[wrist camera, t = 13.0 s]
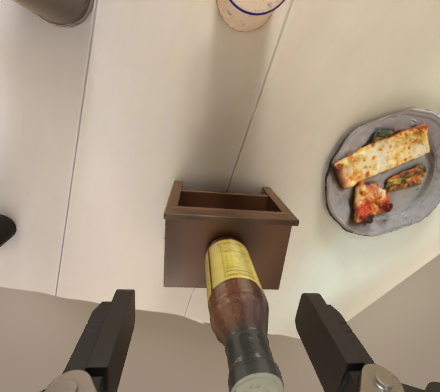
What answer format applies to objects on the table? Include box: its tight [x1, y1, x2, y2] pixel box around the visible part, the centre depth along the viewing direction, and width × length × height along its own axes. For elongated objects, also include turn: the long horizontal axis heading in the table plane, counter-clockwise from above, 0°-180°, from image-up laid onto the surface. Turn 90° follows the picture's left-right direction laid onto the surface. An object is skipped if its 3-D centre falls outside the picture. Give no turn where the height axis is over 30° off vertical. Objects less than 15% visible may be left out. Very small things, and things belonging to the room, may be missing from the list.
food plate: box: [325, 108, 440, 236], centre depth 47 cm, size 25×23×4 cm
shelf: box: [164, 181, 299, 290], centre depth 42 cm, size 18×13×15 cm
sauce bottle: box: [205, 236, 284, 392], centre depth 27 cm, size 7×6×20 cm
